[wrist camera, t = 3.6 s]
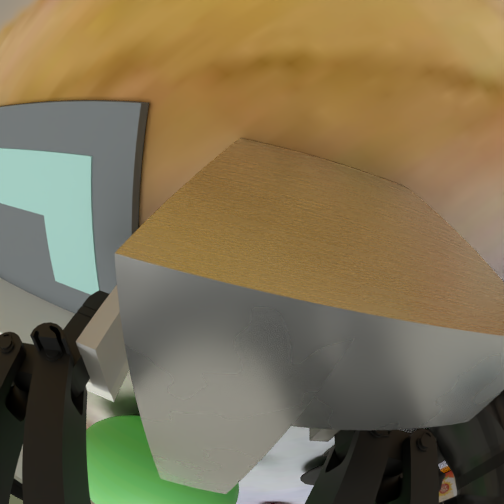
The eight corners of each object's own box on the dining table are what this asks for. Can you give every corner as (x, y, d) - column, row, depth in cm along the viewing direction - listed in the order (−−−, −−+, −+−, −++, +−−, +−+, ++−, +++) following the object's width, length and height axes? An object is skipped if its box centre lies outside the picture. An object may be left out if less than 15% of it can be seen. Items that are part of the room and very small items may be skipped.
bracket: (240, 137, 12) (114, 252, 3) (406, 187, 12) (545, 341, 3) (204, 332, 18) (160, 478, 9) (323, 357, 18) (329, 500, 9)
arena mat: (149, 102, 11) (140, 103, 10) (141, 329, 18) (136, 338, 18) (-31, 112, 11) (-39, 114, 10) (-11, 264, 18) (-17, 269, 17)
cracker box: (427, 481, 43) (432, 543, 25) (430, 477, 40) (437, 544, 22) (472, 463, 39) (482, 523, 21) (479, 457, 37) (489, 521, 19)
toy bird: (217, 394, 21) (181, 556, 9) (262, 457, 29) (250, 556, 16) (75, 381, 25) (26, 480, 13) (145, 446, 33) (121, 524, 20)
